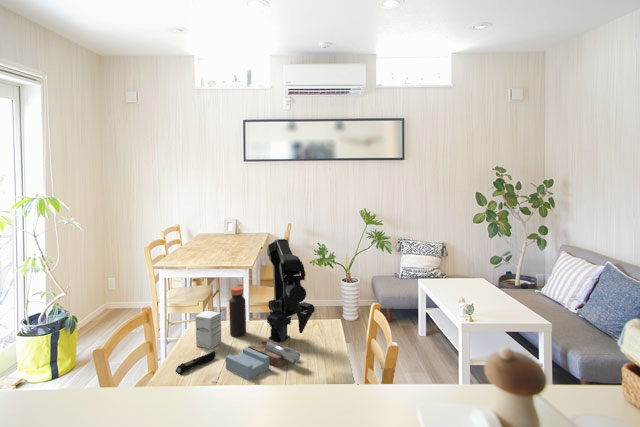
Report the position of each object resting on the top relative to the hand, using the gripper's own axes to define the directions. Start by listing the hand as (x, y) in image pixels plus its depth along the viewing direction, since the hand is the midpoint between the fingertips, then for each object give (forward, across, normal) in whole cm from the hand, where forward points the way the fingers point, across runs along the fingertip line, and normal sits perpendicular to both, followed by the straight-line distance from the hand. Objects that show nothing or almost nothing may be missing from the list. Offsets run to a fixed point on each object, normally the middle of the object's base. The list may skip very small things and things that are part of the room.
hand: (292, 336), depth 143 cm
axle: (+9, 0, -5) cm, 10 cm away
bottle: (+11, -6, -38) cm, 40 cm away
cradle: (+11, +12, -11) cm, 19 cm away
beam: (+11, 0, -11) cm, 15 cm away
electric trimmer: (+11, +22, -27) cm, 37 cm away
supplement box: (+11, +8, -39) cm, 41 cm away
